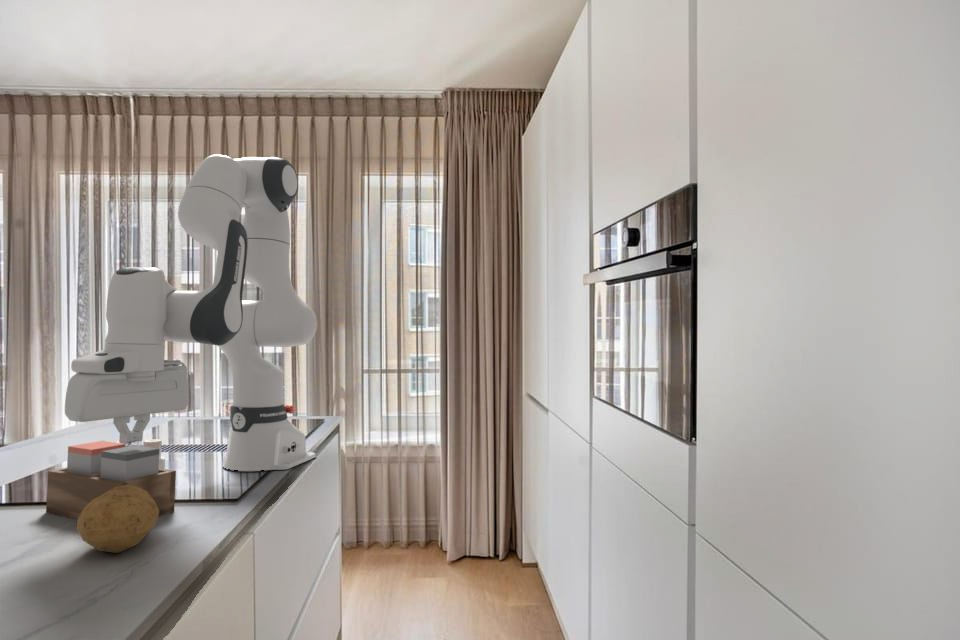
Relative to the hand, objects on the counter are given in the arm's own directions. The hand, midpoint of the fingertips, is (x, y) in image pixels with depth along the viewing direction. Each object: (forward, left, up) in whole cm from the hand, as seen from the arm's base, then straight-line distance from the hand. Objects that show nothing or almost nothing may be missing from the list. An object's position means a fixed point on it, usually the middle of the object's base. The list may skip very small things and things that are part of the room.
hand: (130, 442), depth 97 cm
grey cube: (0, 0, -7) cm, 7 cm away
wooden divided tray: (0, -4, -12) cm, 13 cm away
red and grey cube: (0, -8, -7) cm, 11 cm away
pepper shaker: (-13, -11, -13) cm, 21 cm away
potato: (+11, +12, -13) cm, 21 cm away
